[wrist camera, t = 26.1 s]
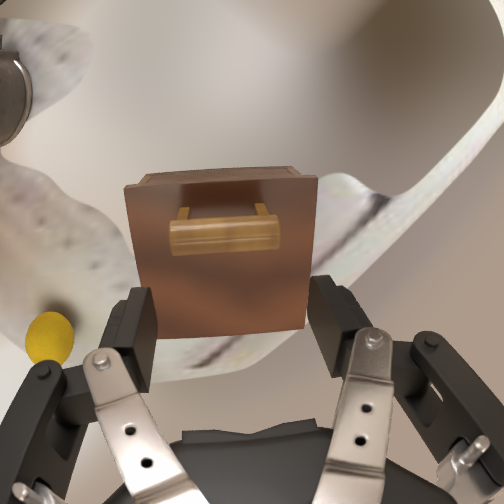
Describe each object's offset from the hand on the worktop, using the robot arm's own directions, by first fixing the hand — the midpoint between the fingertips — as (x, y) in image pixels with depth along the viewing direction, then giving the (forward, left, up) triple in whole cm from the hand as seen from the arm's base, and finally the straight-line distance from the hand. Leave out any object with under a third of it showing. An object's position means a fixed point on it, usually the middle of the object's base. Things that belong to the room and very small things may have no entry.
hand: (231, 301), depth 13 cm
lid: (+4, 0, -11) cm, 12 cm away
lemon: (+14, -20, -18) cm, 30 cm away
